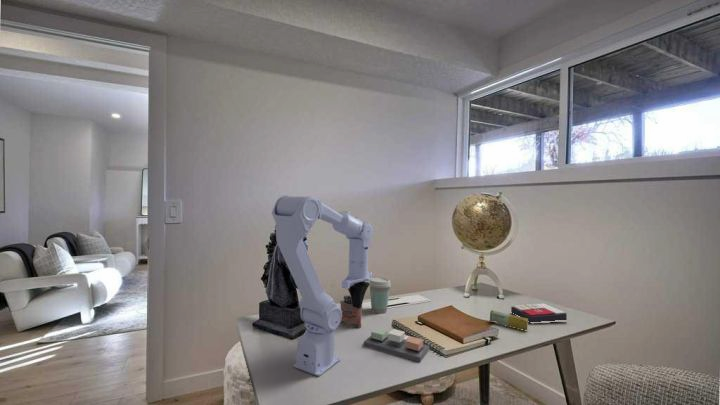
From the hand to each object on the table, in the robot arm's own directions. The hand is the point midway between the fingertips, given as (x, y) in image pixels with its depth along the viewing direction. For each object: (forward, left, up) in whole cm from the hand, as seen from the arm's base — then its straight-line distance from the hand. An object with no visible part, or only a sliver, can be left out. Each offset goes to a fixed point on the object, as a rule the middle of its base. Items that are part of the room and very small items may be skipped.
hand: (357, 307), depth 91 cm
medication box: (+41, -38, -11) cm, 57 cm away
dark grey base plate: (+3, -11, -10) cm, 16 cm away
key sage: (+3, -6, -9) cm, 11 cm away
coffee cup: (+28, +6, -11) cm, 30 cm away
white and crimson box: (+56, -47, -11) cm, 74 cm away
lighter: (+10, +8, -11) cm, 17 cm away
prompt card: (+10, -11, -10) cm, 19 cm away
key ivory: (+3, -11, -8) cm, 14 cm away
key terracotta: (+3, -17, -9) cm, 19 cm away
